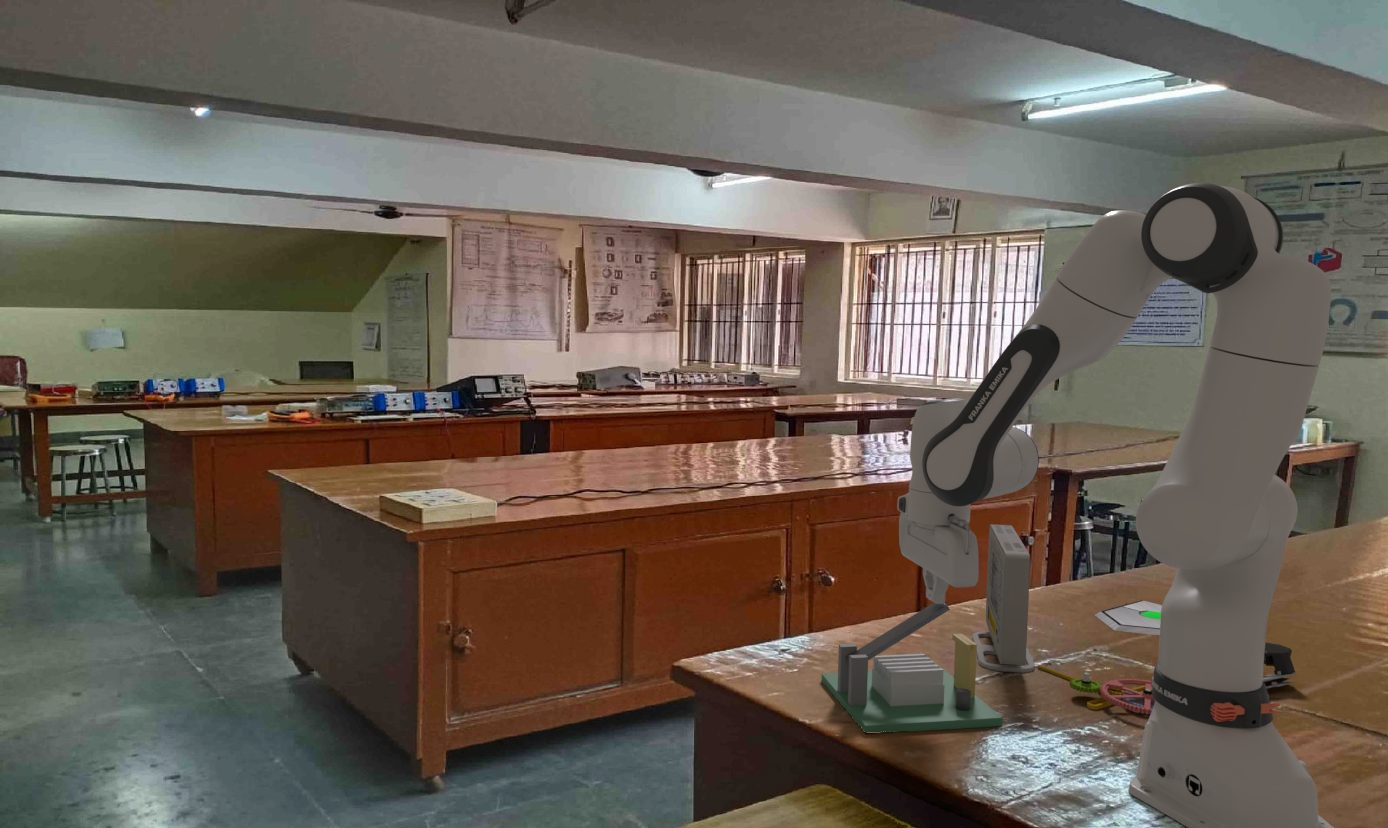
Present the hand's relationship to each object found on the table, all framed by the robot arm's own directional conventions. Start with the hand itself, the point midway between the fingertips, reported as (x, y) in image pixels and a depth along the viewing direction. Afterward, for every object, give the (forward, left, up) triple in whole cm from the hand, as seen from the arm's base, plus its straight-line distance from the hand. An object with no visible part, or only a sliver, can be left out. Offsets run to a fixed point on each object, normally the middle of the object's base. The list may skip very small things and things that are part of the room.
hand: (935, 601), depth 142 cm
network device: (+19, -21, -15) cm, 32 cm away
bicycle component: (0, -52, -16) cm, 54 cm away
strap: (0, +6, -5) cm, 7 cm away
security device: (+32, -57, -16) cm, 67 cm away
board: (0, +4, -15) cm, 16 cm away
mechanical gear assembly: (-3, -29, -16) cm, 33 cm away
